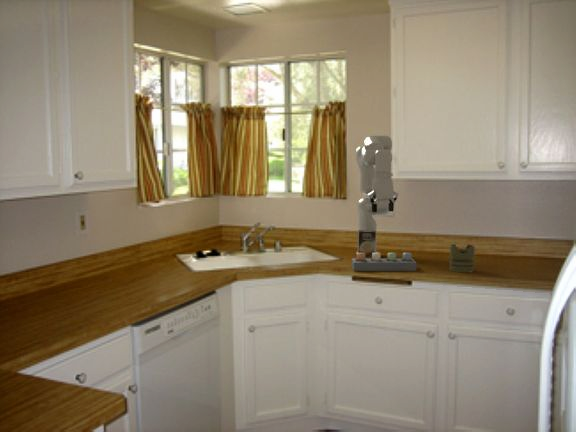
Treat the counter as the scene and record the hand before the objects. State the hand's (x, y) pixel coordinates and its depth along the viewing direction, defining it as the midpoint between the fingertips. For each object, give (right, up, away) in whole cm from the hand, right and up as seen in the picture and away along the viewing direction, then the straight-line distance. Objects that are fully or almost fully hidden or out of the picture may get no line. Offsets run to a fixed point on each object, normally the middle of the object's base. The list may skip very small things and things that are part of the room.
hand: (382, 211), depth 299 cm
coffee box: (-5, -26, +26) cm, 37 cm away
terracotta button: (-10, -25, +6) cm, 27 cm away
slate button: (+13, -25, +6) cm, 28 cm away
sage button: (+5, -25, +6) cm, 26 cm away
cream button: (-2, -25, +6) cm, 25 cm away
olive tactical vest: (+38, -29, +1) cm, 48 cm away
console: (+1, -28, +6) cm, 29 cm away
